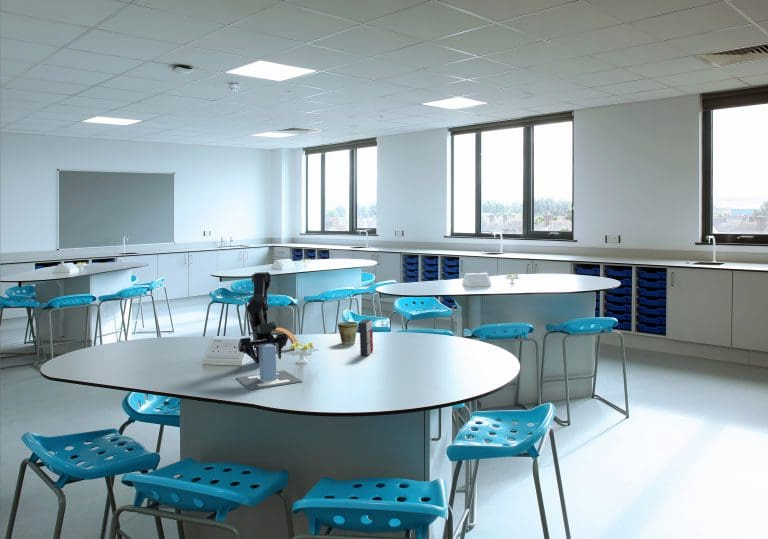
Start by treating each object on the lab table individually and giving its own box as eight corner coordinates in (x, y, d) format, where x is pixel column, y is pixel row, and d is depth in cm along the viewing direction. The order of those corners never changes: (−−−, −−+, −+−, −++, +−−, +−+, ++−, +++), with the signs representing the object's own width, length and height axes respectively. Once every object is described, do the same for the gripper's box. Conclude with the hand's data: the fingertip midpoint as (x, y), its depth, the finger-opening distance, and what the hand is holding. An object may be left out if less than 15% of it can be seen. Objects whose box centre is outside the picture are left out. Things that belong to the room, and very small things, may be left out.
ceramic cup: (357, 344, 294) (357, 324, 293) (337, 345, 294) (336, 325, 293) (359, 339, 307) (358, 320, 306) (339, 340, 307) (339, 320, 306)
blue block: (263, 381, 227) (262, 347, 226) (260, 378, 232) (258, 345, 231) (276, 379, 230) (275, 345, 229) (272, 376, 234) (271, 343, 233)
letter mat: (250, 390, 217) (250, 389, 217) (235, 378, 235) (235, 377, 235) (302, 382, 227) (302, 380, 227) (284, 371, 244) (284, 370, 244)
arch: (259, 347, 295) (258, 327, 294) (298, 347, 291) (297, 327, 291) (255, 350, 289) (254, 329, 288) (295, 350, 286) (294, 329, 285)
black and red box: (368, 356, 268) (367, 323, 266) (359, 356, 268) (358, 323, 267) (373, 351, 278) (372, 319, 277) (364, 351, 279) (363, 319, 278)
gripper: (238, 317, 228) (248, 351, 219) (285, 312, 237) (296, 345, 228) (234, 335, 235) (243, 368, 227) (279, 329, 244) (290, 361, 235)
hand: (268, 360), depth 229 cm, fingers open, 9 cm apart
